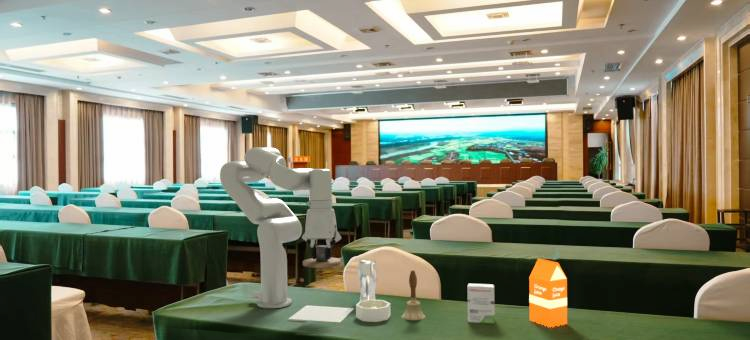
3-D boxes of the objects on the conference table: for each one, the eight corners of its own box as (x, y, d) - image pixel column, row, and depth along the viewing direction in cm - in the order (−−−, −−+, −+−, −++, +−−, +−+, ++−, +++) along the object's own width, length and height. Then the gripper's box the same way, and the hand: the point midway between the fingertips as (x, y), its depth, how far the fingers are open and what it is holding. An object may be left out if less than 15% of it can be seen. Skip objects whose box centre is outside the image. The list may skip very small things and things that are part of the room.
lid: (296, 266, 171) (296, 248, 171) (311, 259, 184) (310, 242, 183) (333, 268, 168) (333, 250, 168) (346, 260, 180) (345, 243, 180)
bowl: (353, 322, 168) (353, 307, 168) (362, 313, 178) (361, 298, 178) (385, 325, 165) (385, 309, 165) (392, 315, 176) (392, 300, 175)
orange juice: (549, 328, 160) (549, 264, 160) (529, 320, 168) (528, 259, 167) (567, 324, 164) (567, 261, 163) (546, 316, 171) (546, 256, 171)
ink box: (494, 319, 169) (494, 283, 169) (494, 324, 165) (494, 287, 164) (468, 317, 171) (468, 282, 171) (467, 322, 167) (467, 286, 166)
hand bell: (427, 321, 168) (427, 273, 167) (402, 322, 167) (402, 273, 167) (423, 314, 176) (423, 267, 175) (399, 315, 175) (399, 268, 175)
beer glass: (378, 299, 195) (377, 260, 195) (376, 304, 188) (375, 263, 188) (359, 299, 196) (359, 259, 195) (357, 304, 189) (356, 263, 188)
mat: (288, 320, 170) (288, 318, 170) (306, 307, 186) (306, 305, 186) (340, 324, 166) (340, 322, 166) (354, 309, 182) (354, 308, 182)
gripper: (293, 205, 174) (294, 260, 174) (341, 206, 170) (341, 261, 170) (302, 204, 181) (303, 256, 181) (347, 204, 177) (348, 257, 177)
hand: (321, 258), depth 176 cm, fingers closed on lid, 4 cm apart
